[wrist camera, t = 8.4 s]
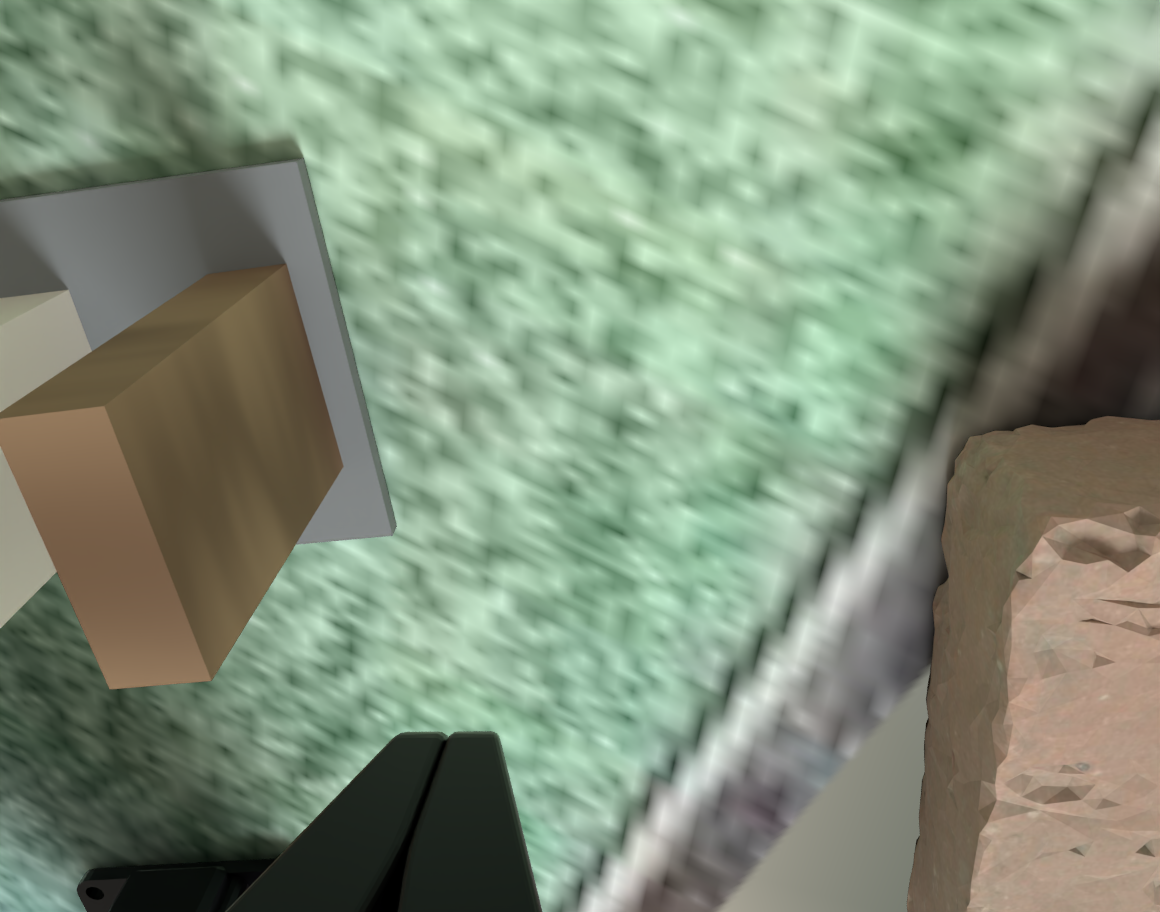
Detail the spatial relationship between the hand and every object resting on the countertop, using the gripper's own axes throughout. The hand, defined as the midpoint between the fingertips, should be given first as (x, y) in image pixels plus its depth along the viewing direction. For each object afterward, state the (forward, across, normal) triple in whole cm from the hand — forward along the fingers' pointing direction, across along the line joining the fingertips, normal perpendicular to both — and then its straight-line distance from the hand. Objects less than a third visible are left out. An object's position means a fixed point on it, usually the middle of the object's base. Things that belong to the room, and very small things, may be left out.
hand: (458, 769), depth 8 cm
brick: (+13, -12, +11) cm, 21 cm away
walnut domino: (+12, +6, +1) cm, 13 cm away
